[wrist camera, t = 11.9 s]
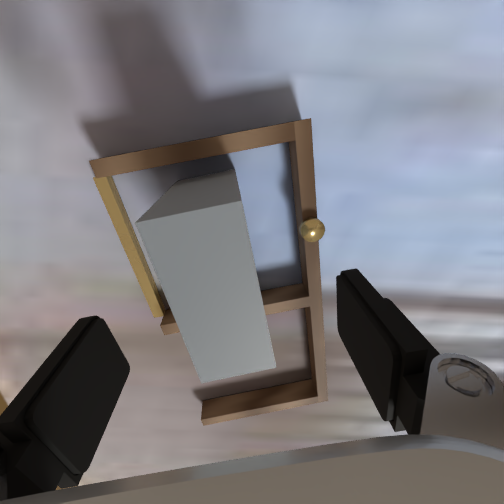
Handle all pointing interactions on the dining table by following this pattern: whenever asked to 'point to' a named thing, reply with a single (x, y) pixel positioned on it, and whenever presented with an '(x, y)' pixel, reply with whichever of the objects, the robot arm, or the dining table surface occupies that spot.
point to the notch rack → (273, 299)
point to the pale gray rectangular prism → (209, 275)
